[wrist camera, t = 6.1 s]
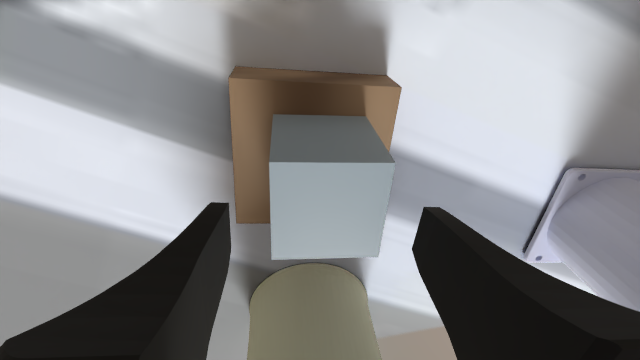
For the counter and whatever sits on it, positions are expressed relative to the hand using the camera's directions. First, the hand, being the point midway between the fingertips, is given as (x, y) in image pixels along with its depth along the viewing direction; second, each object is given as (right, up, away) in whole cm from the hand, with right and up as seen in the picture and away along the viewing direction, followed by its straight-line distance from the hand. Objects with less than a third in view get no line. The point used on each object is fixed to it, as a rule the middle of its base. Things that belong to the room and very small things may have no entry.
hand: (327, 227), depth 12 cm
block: (0, +3, +5) cm, 6 cm away
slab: (-1, +4, +8) cm, 9 cm away
